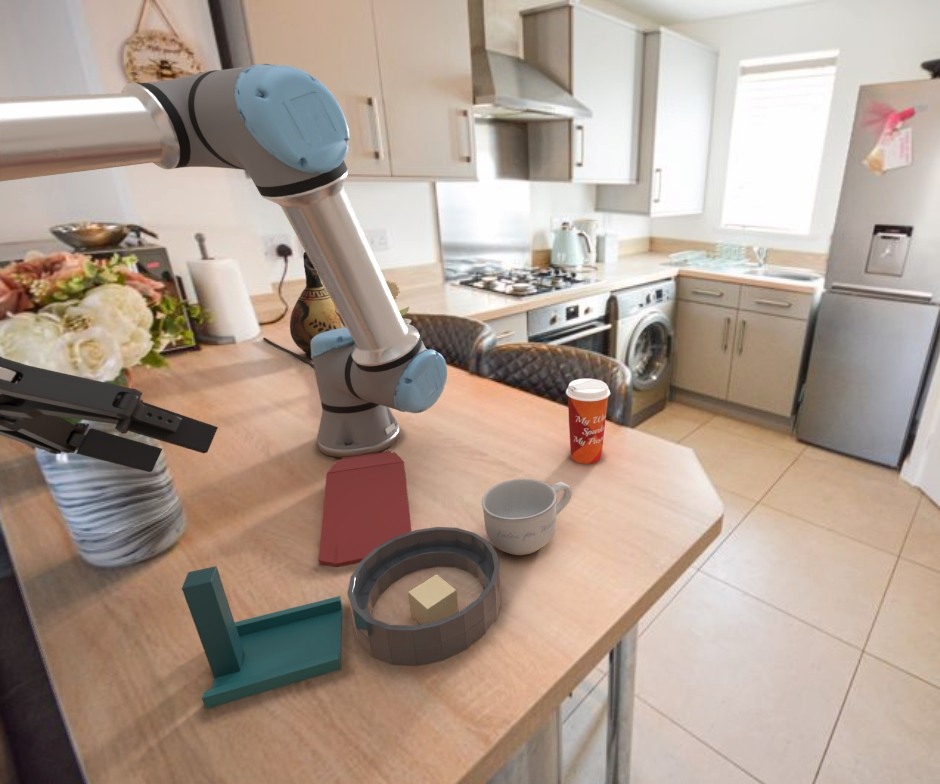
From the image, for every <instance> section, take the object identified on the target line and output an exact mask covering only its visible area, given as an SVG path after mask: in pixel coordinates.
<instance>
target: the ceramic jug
mask: <svg viewBox="0 0 940 784" xmlns="http://www.w3.org/2000/svg"><path fill="white" fill-rule="evenodd" d="M302 258H303V268H304V273H305V274H304V275H305V286H304V289H303V290H302V291H301V293H300V295H299V297H298V298H297V300H296V302H295V304H294V306H293V307H292V311H291V314H290V320H289V332H290V336H291V339H292V341H293V342H294V344H295V345H296V346H297V347H298V348H299V349H300V350H301V351H302V352H303V353H304V355H305V358H306V359H307V360H312V359H311V340H312V339H313V338H314V337H315V336H316V335H318V334H320V333H323V332H326V331H330V330H334V329H340V328H346V325H345V324H344V322H343V320H342V318H341V316H340V314H339V313H338V311H337V309H336V307H335V305H334V303H333V301H332V300H331V298H330V296H329V294H328V292H327V290H326V289H325V287H324V285H323V283H322V281H321V279H320V277H319V276H318V274H317V272H316V270H315V268H314V266H313V265H312V263H311V261H310V259H309V257H308V255H307V254H306V252H305V251H304V252H303V257H302Z"/></svg>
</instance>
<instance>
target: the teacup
mask: <svg viewBox="0 0 940 784" xmlns="http://www.w3.org/2000/svg"><path fill="white" fill-rule="evenodd" d="M561 491H563V494H562V497H560V500H559V501H558V502H557V500H558V493H559V492H561ZM571 499H572V489H571V487H570V485H569V484H567V483H566V482H563V481H558V482H556V483H554V484H553V485H550V484H549V483H547V482H545V481H542V480H539V479H535V478H515V479H514V478H513V479H509V480H505V481H502V482H501V481H500V482H499V483H497V484H494V485H493V486H491V487H490V488H489V489H487V490H486V491H485V492H484V494H483V496H482V498H481V507H482V511H483V520H484V527H485V532H486V533H485V534H486V536H487V539H488V540H489V543H490V544H492V546H493V547H495V548H496V549H497V550H499V551H501V552H504V553H507V554H509V555H514V556H524V555H525V556H526V555H529V554H533V553H535V552H538V551H539V550H540V549H542V548H543V547H545V546H546V545H547V544H548V543H550V541H551V540H552V539H553V537H554V535H555V534H556V533H555V532H556V529H557V522H558V521H557V520H558V519H557V516H558V515H559V514H560V513H561V512H562V511H563V510H564V509H565V508H566V506H567V505H568V504H569V503H570V501H571Z"/></svg>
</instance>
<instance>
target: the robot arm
mask: <svg viewBox="0 0 940 784" xmlns="http://www.w3.org/2000/svg"><path fill="white" fill-rule="evenodd" d="M346 118H347V117H346V115H345V114H344V111H343V109H342V107H341V105H340V103H339V102H338V100H337V99H336V97H335V96H334V95H333V93H332V92H331V91H330V90H329V88H327V87H326V85H325V84H324V83H322V82H321V81H320V80H319V79H318V78H316V77H314V76H312V75H311V74H310V73H308V72H307V71H305V70H304V69H303V70H302V69H300V68H298V67H295V66H291V65H284V64H269V63H259V64H253V65H252V64H251V65H246V66H240V67H233V68H228V69H227V68H225V69H215V70H214V69H213V70H207V71H203V72H199V73H194V74H190V75H185V76H181V77H176V78H172V79H165V80H159V81H149V82H129V83H126V84H125V85H124V86H123V87H122V89H121V92H120V93H119V92H118V93H117V92H116V93H90V94H87V93H86V94H85V93H84V94H61V95H57V94H56V95H31V96H29V95H28V96H2V97H0V182H6V181H7V182H9V181H16V180H23V179H24V180H25V179H31V178H33V179H34V178H40V177H41V178H42V177H48V176H55V175H56V176H57V175H63V174H71V173H72V174H73V173H80V172H88V171H97V170H104V169H111V168H113V169H114V168H119V167H127V166H135V165H136V166H137V165H143V164H144V165H145V164H151V163H152V164H153V165H155V166H157V167H159V168H160V169H161V168H162V169H163V170H173V169H180V168H219V169H220V168H221V169H230V170H231V169H233V170H243V171H246V172H247V173H248V175H249V177H250V178H251V180H252V183H253V184H254V186H255V187H256V189H257V191H258V192H259V195H260V196H261V197H262V198H263V199H265V200H267V201H270V202H272V203H273V204H277V205H278V206H280V207H281V209H282V211H283V213H284V215H285V217H286V219H287V221H288V223H289V224H290V226H291V228H292V229H293V231H294V233H295V235H296V238H297V239H298V241H299V242H300V244H301V246H302V248H303V250H304V252H306V254H307V255H308V257H309V259H310V261H311V263H312V265H313V266H314V268H315V270H316V272H317V274H318V276H319V278H320V280H321V283H322V285H323V286H324V288H325V289H326V290H327V292H328V294H329V296H330V298H331V300H332V301H333V303H334V305H335V307H336V309H337V311H338V313H339V314H340V316H341V318H342V320H343V322H344V324H345V325H346V328H340V329H334V330H330V331H326V332H323V333H320V334H318V335H316V336H315V337H314V338H313V339H312V340H311V359H310V360H311V361H312V362H311V361H310V360H309V359H308V358H306V357H303V356H302V355H299V354H297V353H295V352H294V351H291V350H289V349H288V348H286V347H283V346H281V345H279V344H277V343H275V342H273V341H271V340H270V339H268V338H266V337H263V338H262V340H263V341H265V342H266V343H268V344H269V345H271V346H273V347H275V348H277V349H279V350H281V351H283V352H285V353H288V354H289V355H292V356H293V357H295V358H298V359H299V360H301V361H303V362H304V363H306V364H307V365H309V367H311V368H312V369H314V374H315V379H316V385H317V391H318V395H319V399H320V400H319V401H320V405H321V416H320V421H319V426H318V433H317V437H316V440H317V444H318V449H319V451H320V452H321V453H322V454H324V455H326V456H329V457H332V458H339V459H340V458H341V459H342V458H347V457H354V456H361V455H367V454H374V453H381V452H384V451H385V450H387V449H388V448H390V447H392V446H394V444H396V443H397V442H398V440H399V439H400V436H401V432H400V431H401V430H400V424H399V423H398V420H397V419H396V417H395V415H394V413H393V411H392V410H395V411H399V412H401V413H405V412H406V413H410V414H420V413H423V412H426V411H428V410H429V409H430V408H432V407H433V406H434V405H435V404H436V403H437V402H438V400H439V399H440V398H441V395H442V394H443V392H444V390H445V385H446V384H447V378H448V366H447V361H446V359H445V358H444V356H443V355H442V354H441V353H440V352H438V351H436V350H435V349H431V348H429V349H427V348H426V346H425V343H424V342H423V339H422V336H421V334H420V333H419V330H418V329H417V328H416V327H415V326H414V325H412V324H405V323H404V321H403V319H404V318H403V317H402V316H401V314H400V312H399V311H400V310H399V307H398V305H397V303H396V300H395V299H394V298H393V296H392V294H391V292H390V290H389V287H388V285H387V283H386V281H385V280H386V278H385V276H384V274H383V272H382V269H381V267H380V265H379V263H378V261H377V259H376V256H375V255H374V252H373V250H372V248H371V245H370V243H369V241H368V239H367V237H366V234H365V232H364V230H363V228H362V225H361V223H360V221H359V218H358V217H357V214H356V212H355V210H354V208H353V205H352V203H351V201H350V199H349V196H348V194H347V192H346V189H345V187H344V184H345V182H346V179H347V177H348V174H349V168H348V167H347V164H346V162H345V159H346V157H347V155H348V153H349V148H350V147H349V145H348V144H347V143H348V141H349V140H350V130H349V125H348V121H347V119H346ZM142 395H143V392H142V391H141V390H139V389H137V388H134V387H133V388H132V387H127V386H122V385H119V384H113V383H109V382H104V381H99V380H96V379H91V378H87V377H82V376H78V375H73V374H68V373H64V372H60V371H56V370H51V369H46V368H41V367H37V366H33V365H29V364H28V365H27V364H25V363H21V362H18V361H15V360H11V359H8V358H6V357H3V356H0V436H1V437H4V438H7V439H10V440H13V441H16V442H19V443H23V444H25V445H27V446H31V447H34V448H36V449H39V450H41V451H45V452H48V453H49V454H53V455H61V454H62V453H64V454H74V453H76V455H81V456H83V457H89V458H91V459H96V460H100V461H104V462H109V463H111V464H116V465H119V466H123V467H127V468H130V469H131V468H132V469H136V470H139V471H143V472H147V473H151V472H153V471H154V469H155V466H156V464H157V462H158V460H159V457H160V455H161V453H162V451H163V447H162V448H161V447H158V446H155V445H151V444H148V443H143V442H141V441H137V440H133V439H130V438H127V437H124V436H120V435H116V434H113V433H110V432H106V431H102V430H99V429H95V428H90V429H88V428H89V427H90V423H85V422H75V424H73V423H72V422H70V421H68V420H67V419H64V418H69V419H75V420H80V421H81V420H82V421H89V422H97V423H102V424H103V423H104V424H111V425H115V427H114V429H115V430H116V431H118V432H119V433H121V434H125V435H126V434H128V432H130V433H134V434H137V435H141V436H144V437H147V438H149V439H154V440H156V441H157V440H158V441H161V442H164V443H168V444H171V445H174V446H177V447H181V448H184V449H188V450H191V451H194V452H198V453H201V454H207V453H208V452H209V450H210V447H211V445H212V442H213V440H214V438H215V435H216V434H217V430H218V428H219V427H218V426H216V425H213V424H210V423H207V422H204V421H201V420H198V419H196V418H192V417H189V416H186V415H183V414H181V413H177V412H174V411H172V410H168V409H165V408H162V407H160V406H157V405H155V404H154V405H153V404H151V403H147V402H145V401H144V399H142V398H141V397H142ZM391 409H392V410H391Z"/></svg>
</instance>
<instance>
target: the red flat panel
mask: <svg viewBox="0 0 940 784" xmlns="http://www.w3.org/2000/svg"><path fill="white" fill-rule="evenodd" d="M324 485H325V486H324V497H323V508H322V519H321V529H320V540H319V541H320V542H319V553H318V563H319V565H324V566H331V567H342V566H343V567H344V566H348V565H354V564H357V563H358V564H359V563H360V562H361V560H363V559H364V558H365V557H366V556H367V555H368V554H369V553H371V552H372V551H373V550H374V549H375V548H377V547H378V546H380V545H381V544H383V543H385V542H387V541H389V540H390V539H392V538H394V537H396V536H399V535H402V534H405V533H408V532H411V531H412V525H411V523H412V522H411V515H410V505H409V496H408V486H407V475H406V467H405V461H404V460H403V458H401V456H399V454H398V453H397V452H395V451H393V452H392V450H389V451H388V450H387V451H380V452H378V453H374V454H367V455H361V456H354V457H347V458H341V459H339V460H336V461H335V462H334V464H333V465H332V466H330V469H328V471H327V472H326V475H325V484H324Z"/></svg>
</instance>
